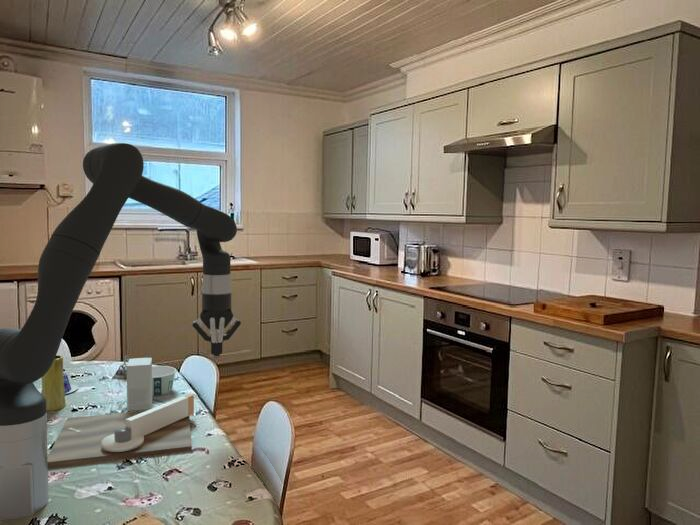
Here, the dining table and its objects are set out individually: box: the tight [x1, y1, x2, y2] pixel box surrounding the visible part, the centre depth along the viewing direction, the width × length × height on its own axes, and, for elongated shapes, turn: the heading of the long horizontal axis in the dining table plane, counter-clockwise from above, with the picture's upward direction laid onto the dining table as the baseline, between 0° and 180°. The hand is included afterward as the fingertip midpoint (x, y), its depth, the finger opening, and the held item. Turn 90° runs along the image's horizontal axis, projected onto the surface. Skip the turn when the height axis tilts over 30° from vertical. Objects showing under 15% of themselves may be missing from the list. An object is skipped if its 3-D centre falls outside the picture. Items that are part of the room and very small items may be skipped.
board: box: [48, 410, 193, 469], centre depth 130 cm, size 26×30×2 cm
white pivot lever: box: [102, 393, 195, 452], centre depth 130 cm, size 26×9×5 cm, turn 154°
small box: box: [126, 357, 153, 412], centre depth 151 cm, size 8×6×13 cm
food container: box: [152, 365, 178, 397], centre depth 163 cm, size 12×12×6 cm
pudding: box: [36, 372, 79, 395], centre depth 162 cm, size 12×12×5 cm
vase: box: [41, 354, 66, 412], centre depth 148 cm, size 6×6×14 cm
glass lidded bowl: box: [113, 354, 130, 379], centre depth 180 cm, size 9×9×8 cm
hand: (216, 355), depth 140 cm, fingers closed
